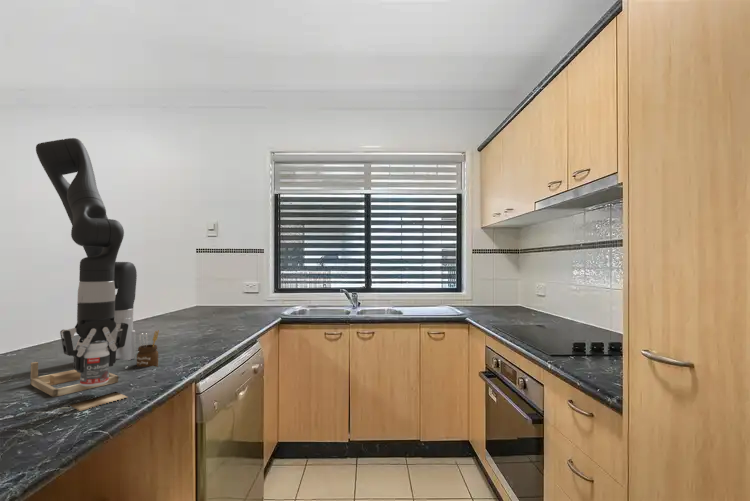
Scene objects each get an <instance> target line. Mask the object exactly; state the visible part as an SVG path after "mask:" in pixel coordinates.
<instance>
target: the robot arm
mask: <svg viewBox="0 0 750 501" xmlns="http://www.w3.org/2000/svg"><path fill="white" fill-rule="evenodd" d="M35 152H36V155H37V158H38V161H39V163H40V164H41V167H42V168H43V170H44V171H45V173H46V175H47V177H48V179H49V181H50V182H51V185H53V187H54V189H55V192H56V193H57V195H58V196H59V199H60V201H61V203H62V205H63V207H64V209H65V211H66V214H67V216H68V218H69V221H70V223H71V229H70V230H71V232H70V233H71V234H70V236H71V239H72V241H73V242H74V243H75V244H76V245H78V246H80V247H83V250H84V252H85V254H86V257H83V258H82V259H80V262H79V280H78V288H77V304H76V305H77V308H76V310H77V312H76V324H75V326H74V327H73V328H69V329H61V330H60V332H59V334H60V340H61V345H62V350H63V351H62V352H63V354H64V355H67V356H70V357H73V370H76V371H77V372H78V373H81V372H83V368H84V357H83V356H82V355H83V353H84V352H85V349H86V348H87V347H88V345H89V343H92V342H96V341H107V342H108V346H107V347H106V350H108V351H109V353H110V358H109V368H111V367H113V366H114V364H115V363H116V362H117V361H116V360H118V359H120V360H125V361H130V360H133V359H136V333H137V332H136V330H135V329H134V304H135V300H136V292H137V290H136V289H137V276H138V275H137V274H138V273H137V268H136V266H135V264H134V263H132V262H129V261H117V258H118V257H117V256H118V253H119V250H120V248H121V245H122V242H123V240H124V236H125V231H124V226H123V224H122V223H121V222H120V221H119V220H116V219H110V218H109V217H108V215H107V210H106V207H105V204H104V201H103V200H102V197H101V195H100V193H99V190H98V187H97V181H96V177H95V176H96V175H95V172H94V167H93V164H92V161H91V158H90V155H89V153H88V150H87V148H86V147H85V145H84V143H83V142H82V141H81V140H80V139H78V138H74V137H72V138H71V137H70V138H69V137H68V138H64V139H63V138H62V139H57V140H49V141H45V142H39V143H37V144H36V146H35ZM74 173H76V175H74V178H73V179H72V181H71V183H70V182H68V180H67V179H66V178H65V177H64V176H65V175H68V174H74ZM116 290H117V291H116ZM75 334H77V335H78V336H79V338H78V340H77V343H76V346H75V348H74V345H73V340H72V339H73V338H74V337H75Z"/></svg>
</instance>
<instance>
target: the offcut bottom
mask: <svg viewBox="0 0 750 501" xmlns="http://www.w3.org/2000/svg"><path fill="white" fill-rule="evenodd" d="M79 380H80V379H77V380H76V381H79ZM74 381H75V380H72V381H67V382H62V383H58V384H57V385H60V384H64V383H69V382H74ZM44 383H46V384H48V385H50V386H56V384H53V383H51V382H50V381H49V382H44Z"/></svg>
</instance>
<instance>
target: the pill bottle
mask: <svg viewBox="0 0 750 501" xmlns="http://www.w3.org/2000/svg"><path fill="white" fill-rule="evenodd" d="M107 346H108V342H107V341H96V342H92V343H89V345H88V347H87V348H86V349H85V351H84V353H83V355H82V356H83V357H84V368H83V372H81V373H80V379H79V380H80V381H79V384H81V385H82V386H97V385H101V384H104V383H106V382H108V380H109V373H110V367H109V358H110V353H109V351H108V350H106V347H107Z"/></svg>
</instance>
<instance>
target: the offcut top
mask: <svg viewBox="0 0 750 501" xmlns="http://www.w3.org/2000/svg"><path fill="white" fill-rule="evenodd" d="M71 370H72V371H70V370H65V371H66V372H65V371H61V373H60V372H56V374H55V373H50V374H51V375H50V374H49V375H50V382H51V383H53V384H55V385H59V384H58V383H60V384H63V383H62V382H65V383H68V382H67V381H70V382H73V381H72V380H74V381H78V380H77V379H79V380H80V373H78V372H77V371H76V370H74V369H71Z"/></svg>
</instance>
